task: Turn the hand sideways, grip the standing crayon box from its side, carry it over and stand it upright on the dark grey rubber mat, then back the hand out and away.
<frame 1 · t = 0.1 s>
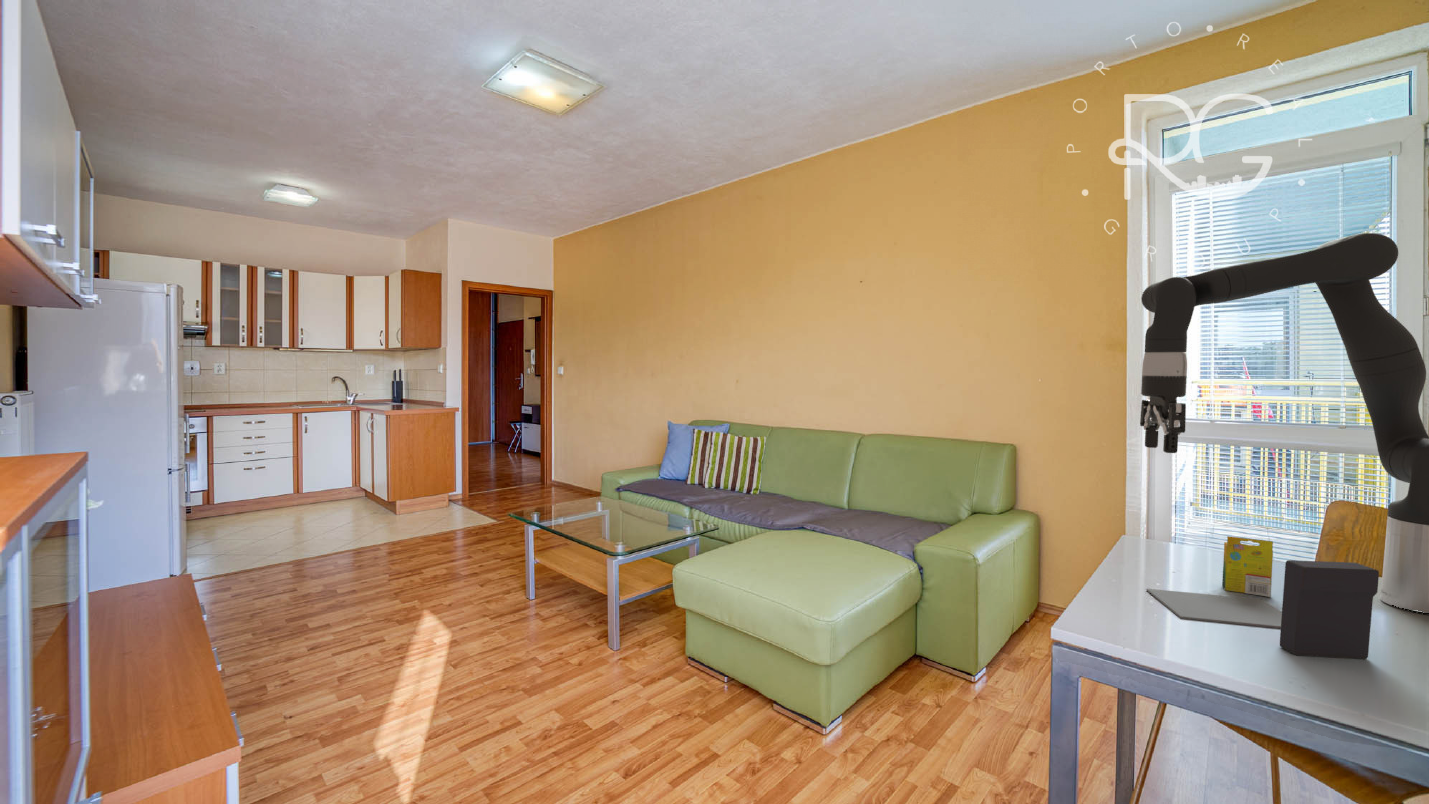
hand: (1160, 450, 125), 29 cm above the table, tool pointing down, fingers open, 8 cm apart
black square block: (1322, 654, 96), on the table
crayon box: (1245, 592, 122), on the table
mat: (1222, 609, 113), on the table
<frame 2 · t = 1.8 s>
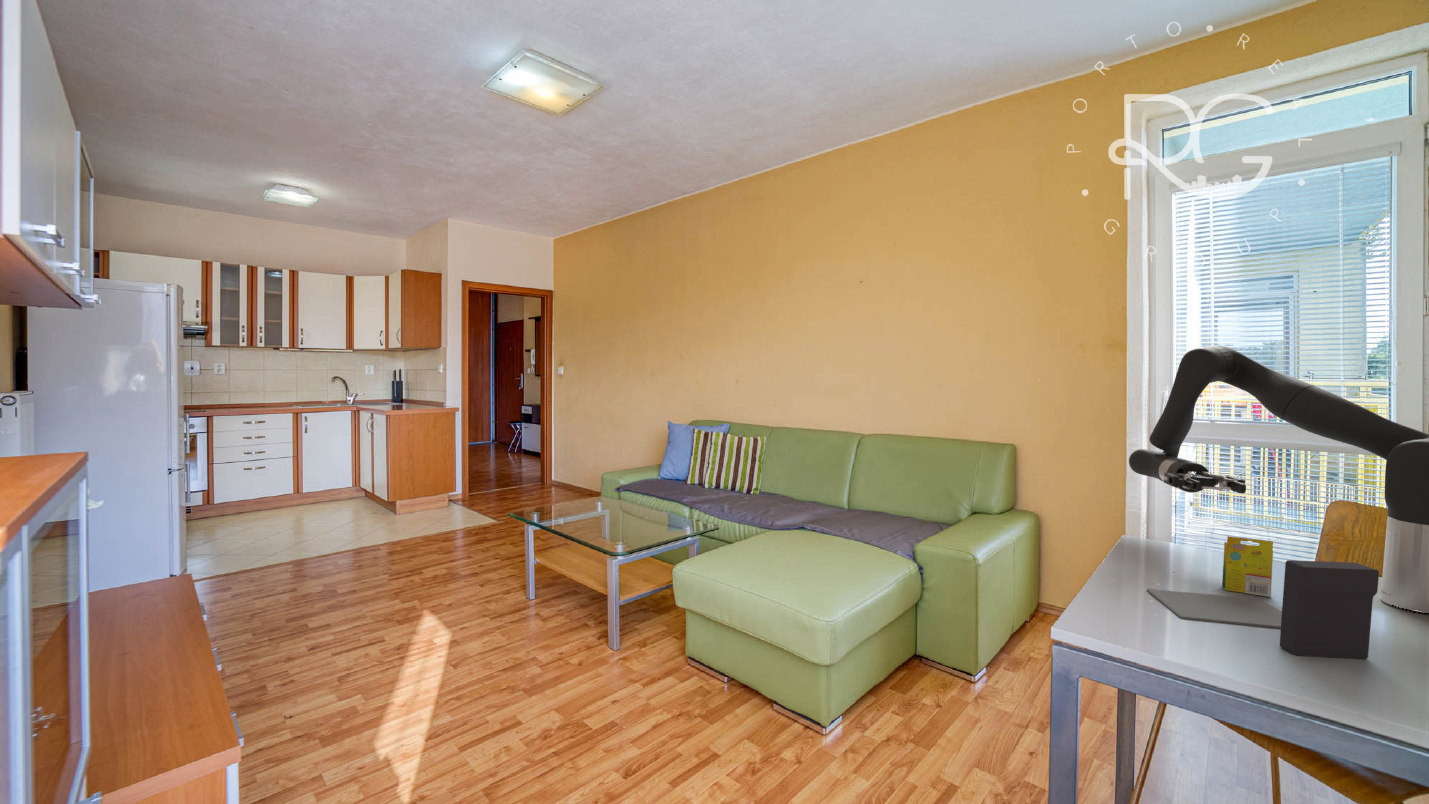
hand: (1220, 487, 132), 20 cm above the table, tool horizontal, fingers open, 8 cm apart
nothing on the table moved.
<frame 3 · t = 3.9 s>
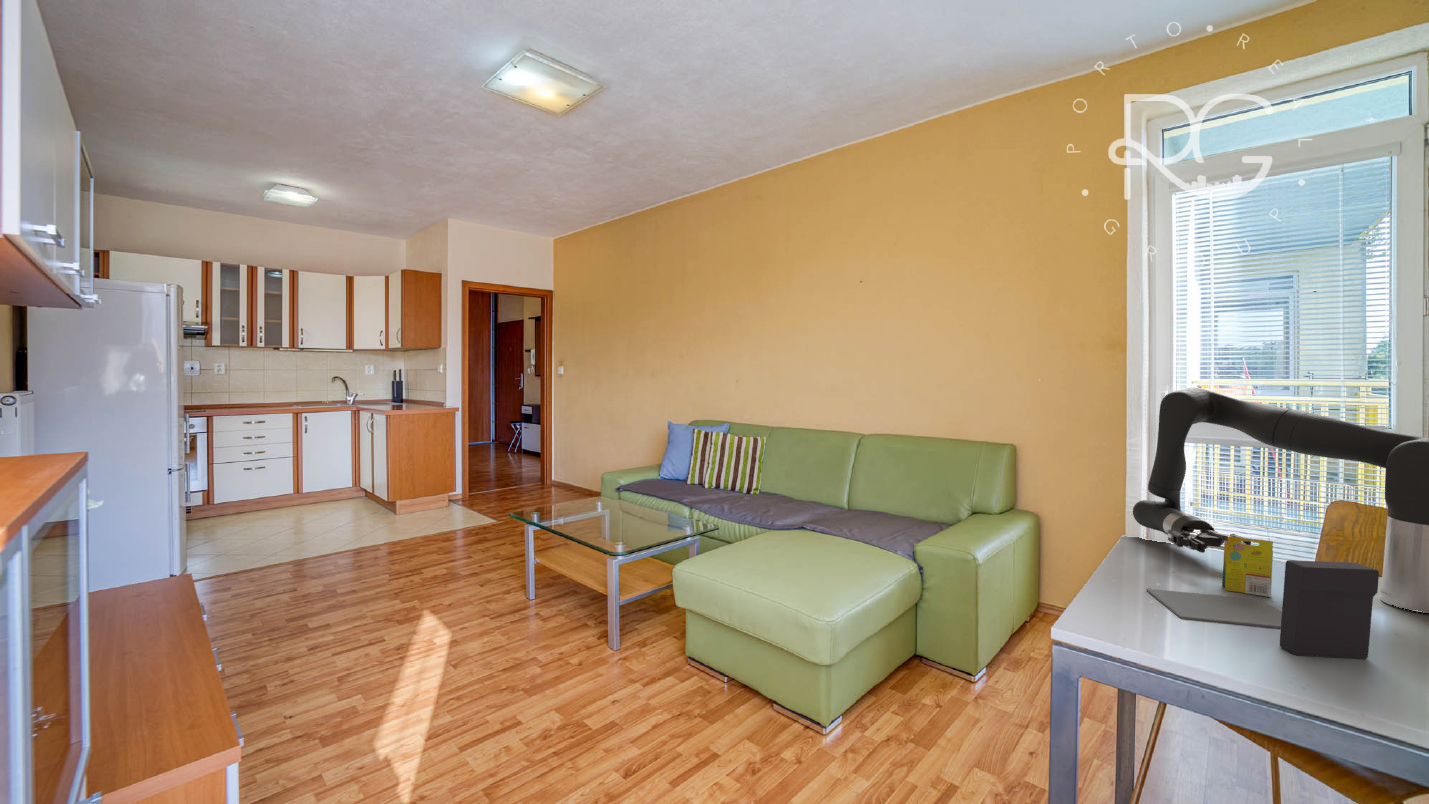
hand: (1226, 550, 129), 6 cm above the table, tool horizontal, fingers open, 8 cm apart
nothing on the table moved.
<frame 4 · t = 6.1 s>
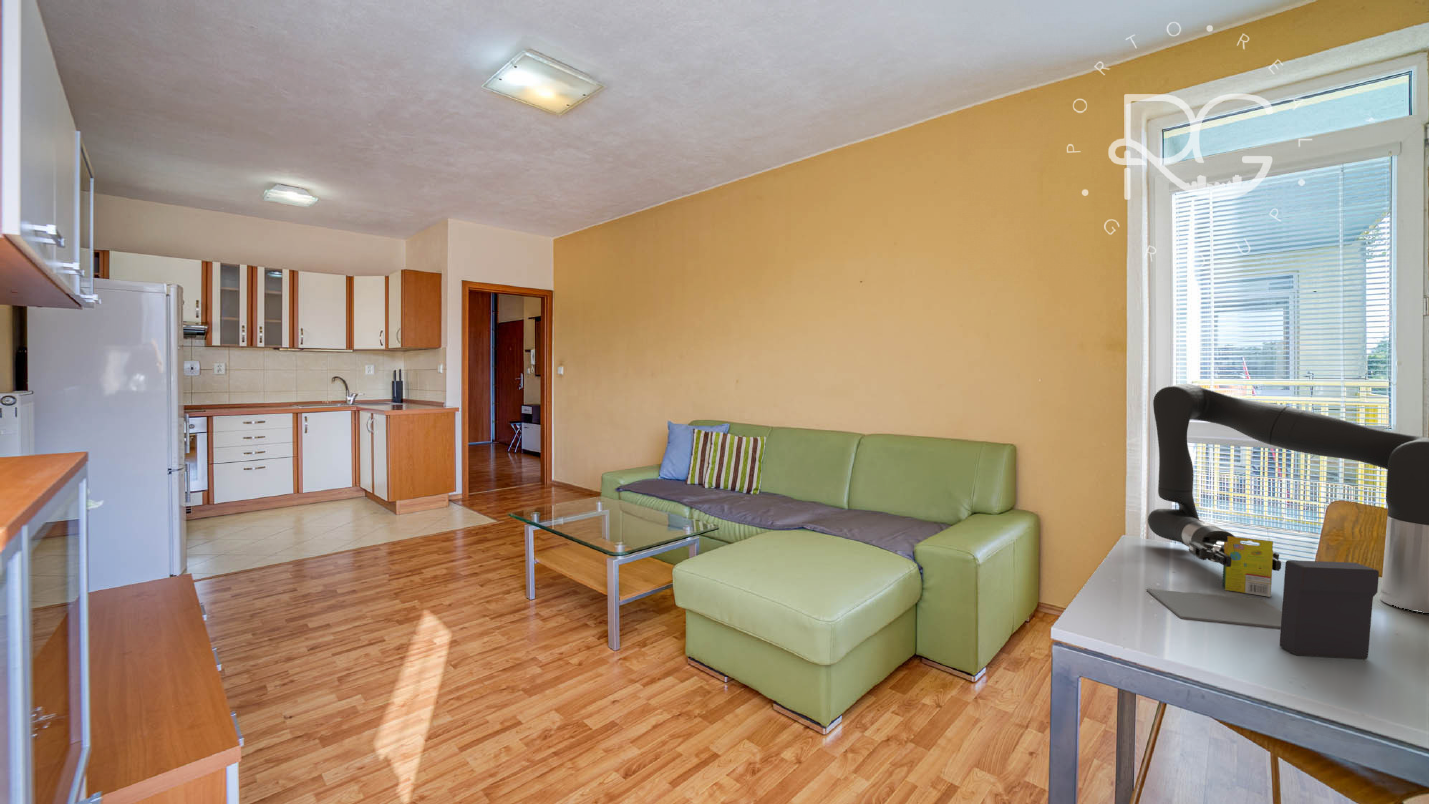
hand: (1253, 564, 120), 7 cm above the table, tool horizontal, fingers closed on crayon box, 8 cm apart
crayon box: (1245, 592, 122), on the table, touching gripper
everything else where it was.
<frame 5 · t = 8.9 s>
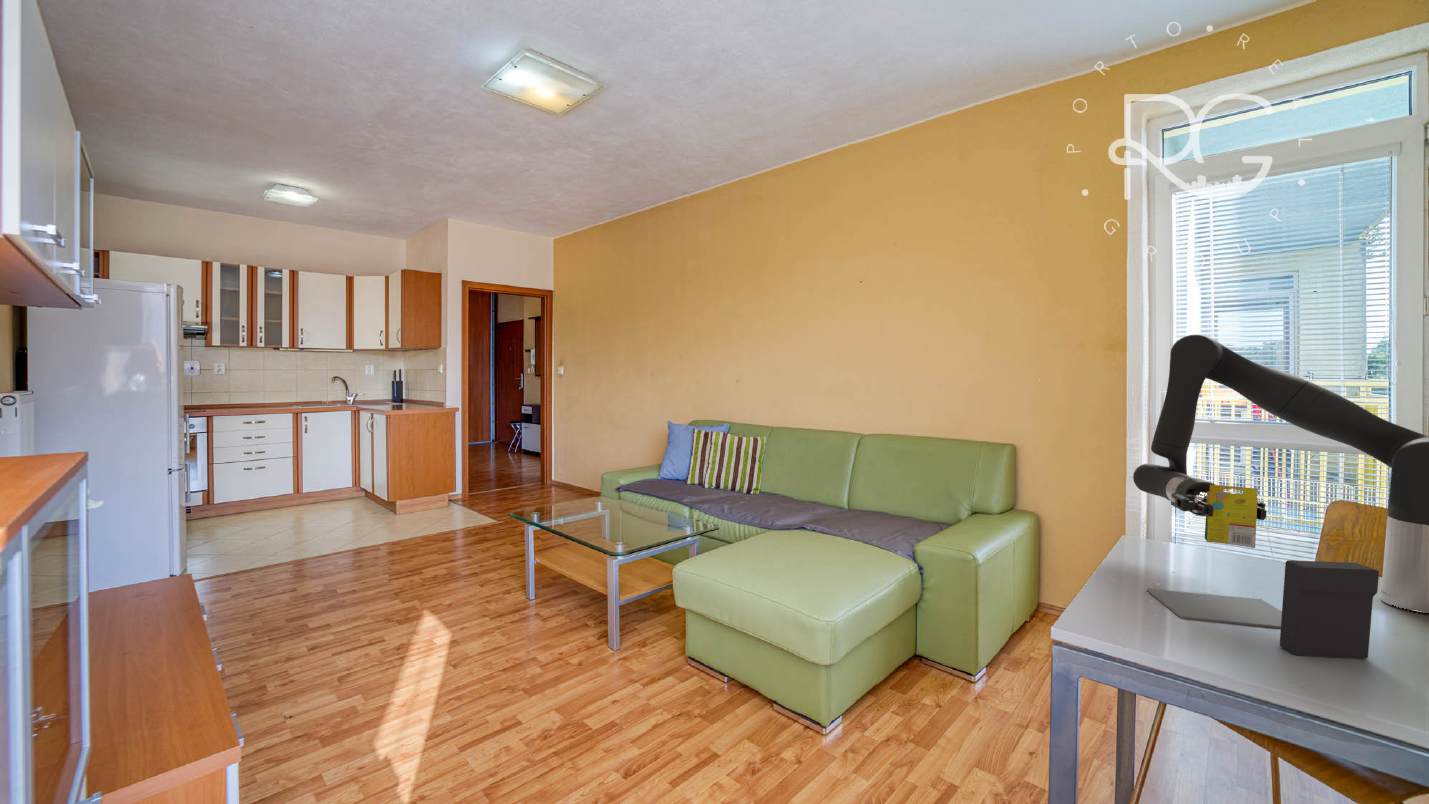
hand: (1236, 513, 113), 19 cm above the table, tool horizontal, fingers closed on crayon box, 8 cm apart
crayon box: (1228, 544, 115), point 12 cm above the table, touching gripper
everything else where it was.
when the fingers open (8 cm above the table, at t = 12.0 s): crayon box stays where it is, resting on mat.
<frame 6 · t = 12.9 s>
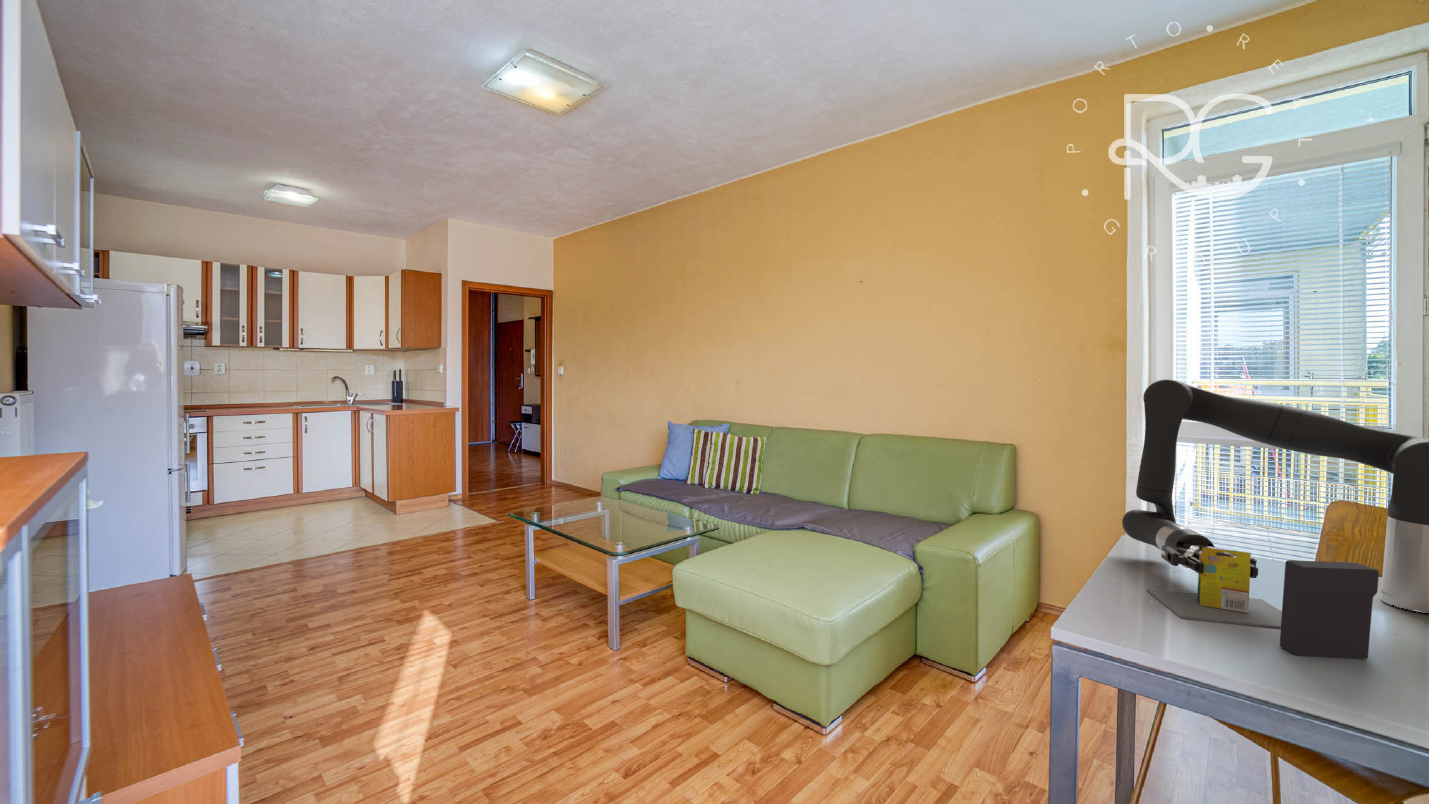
hand: (1228, 570, 112), 8 cm above the table, tool horizontal, fingers open, 8 cm apart
crayon box: (1221, 608, 113), resting on mat
everything else where it was.
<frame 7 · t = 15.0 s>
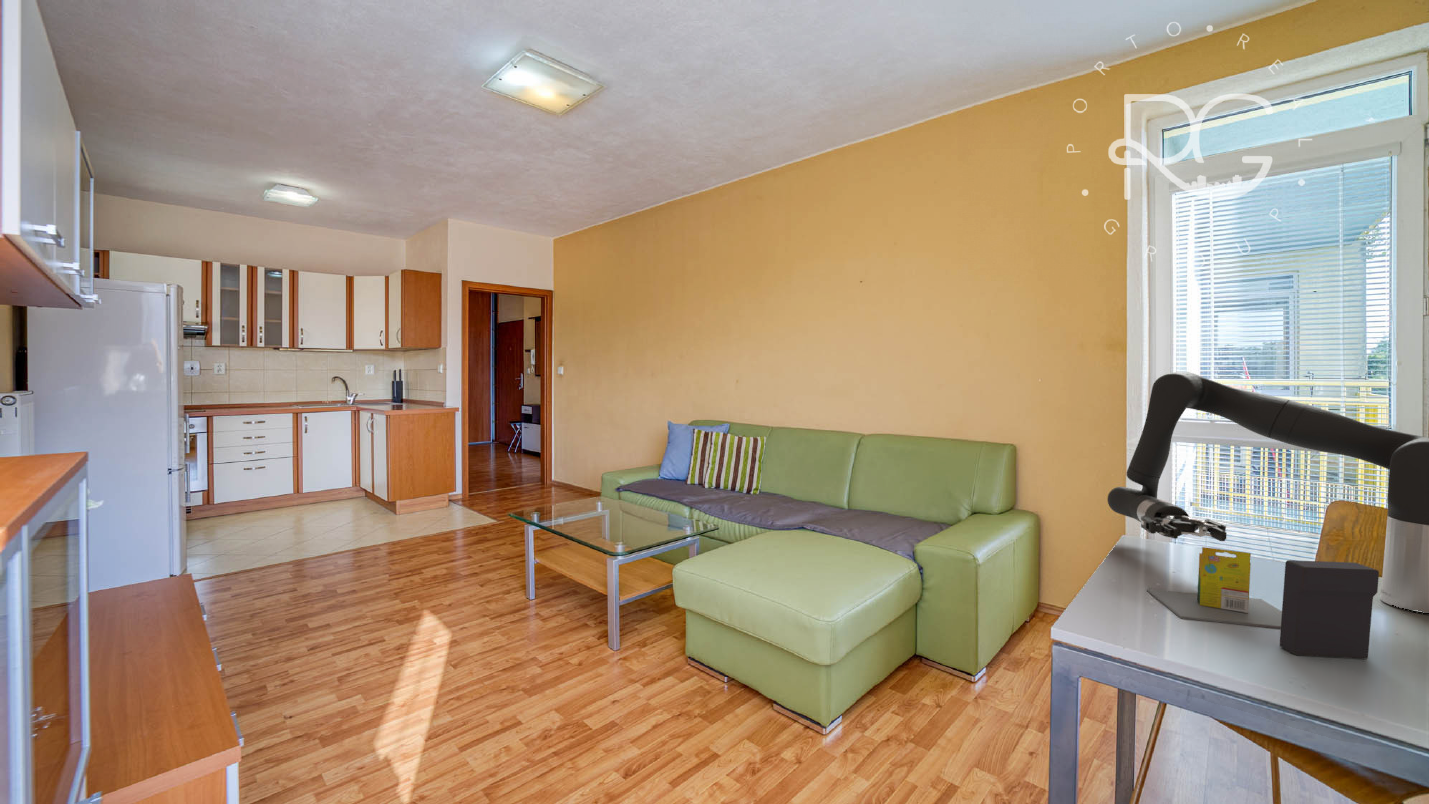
hand: (1199, 535, 123), 11 cm above the table, tool horizontal, fingers open, 8 cm apart
nothing on the table moved.
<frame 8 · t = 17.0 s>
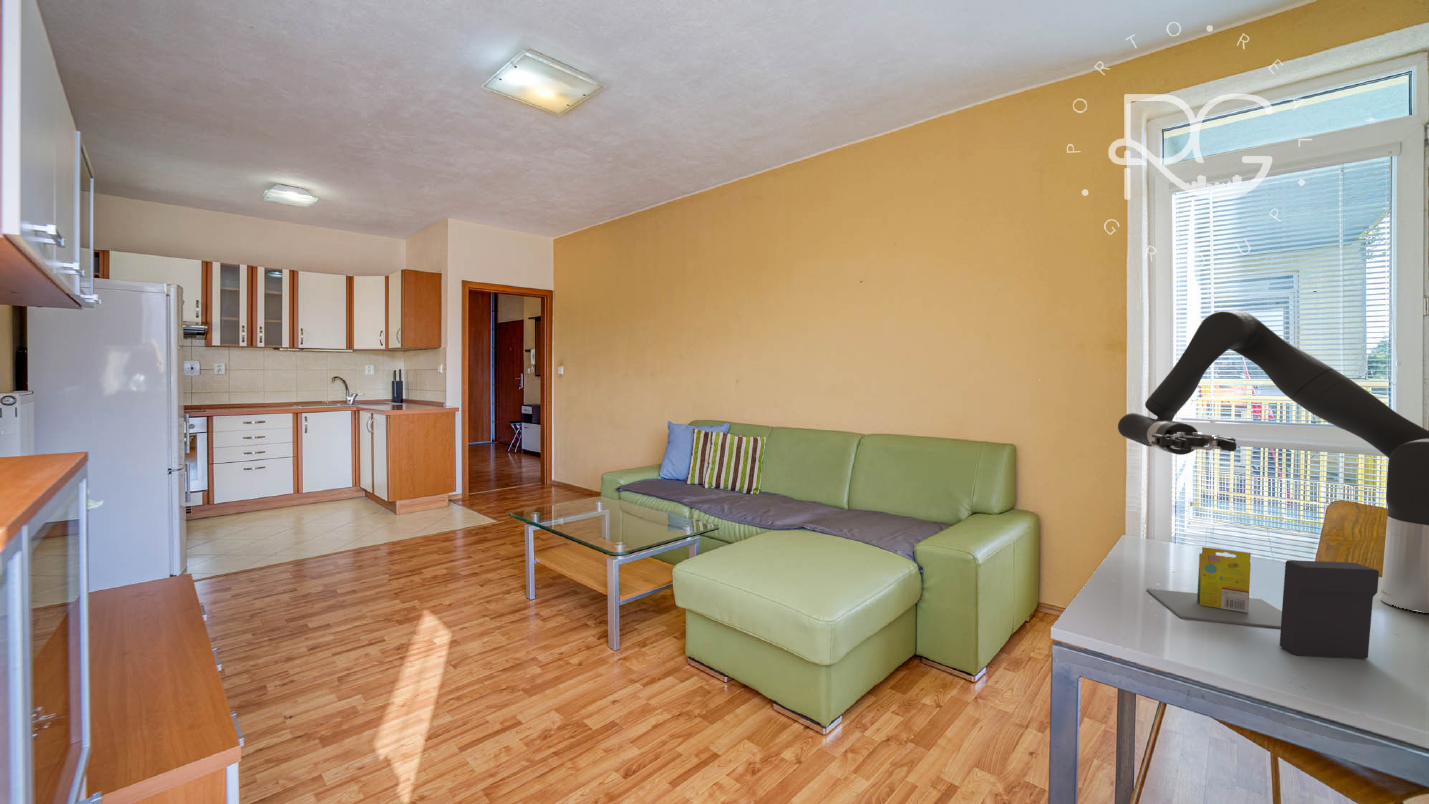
hand: (1209, 445, 126), 30 cm above the table, tool horizontal, fingers open, 8 cm apart
nothing on the table moved.
at the end: crayon box inside the target area on the mat (0.1 cm from its centre), point 0.2 cm above the mat's base; crayon box tilted 0°; the gripper is holding nothing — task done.
